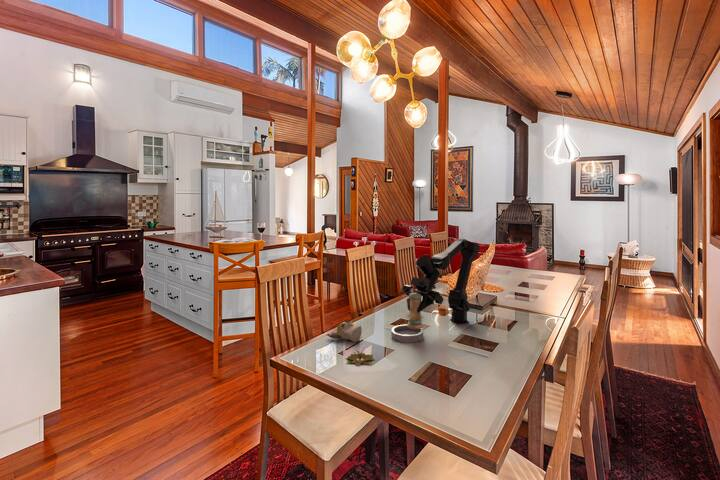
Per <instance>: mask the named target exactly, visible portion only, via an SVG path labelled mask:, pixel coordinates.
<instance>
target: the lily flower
mask: <svg viewBox="0 0 720 480" xmlns="http://www.w3.org/2000/svg"><path fill="white" fill-rule="evenodd" d="M365 352H366V349H365V347H363V349H362V350H361V348H360V351H359V350H356V352H353V353H350V355H349V356H347V357H346V358H345V360H346V359H347V360H348V359H349V360H348V361H347V362H346V365H347V364H356V367H359V366H360V365H361V364H364V365H369V366H371V362H370V361H375V358H373V356H374V355H373V354H366V353H365Z"/></svg>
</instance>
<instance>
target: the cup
mask: <svg viewBox="0 0 720 480" xmlns="http://www.w3.org/2000/svg"><path fill="white" fill-rule="evenodd" d="M421 301H422V298H421V299H420V303H421ZM406 305H407V308H408V305H409V297H408V298H406ZM408 311H409V312H410V310H408Z"/></svg>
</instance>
